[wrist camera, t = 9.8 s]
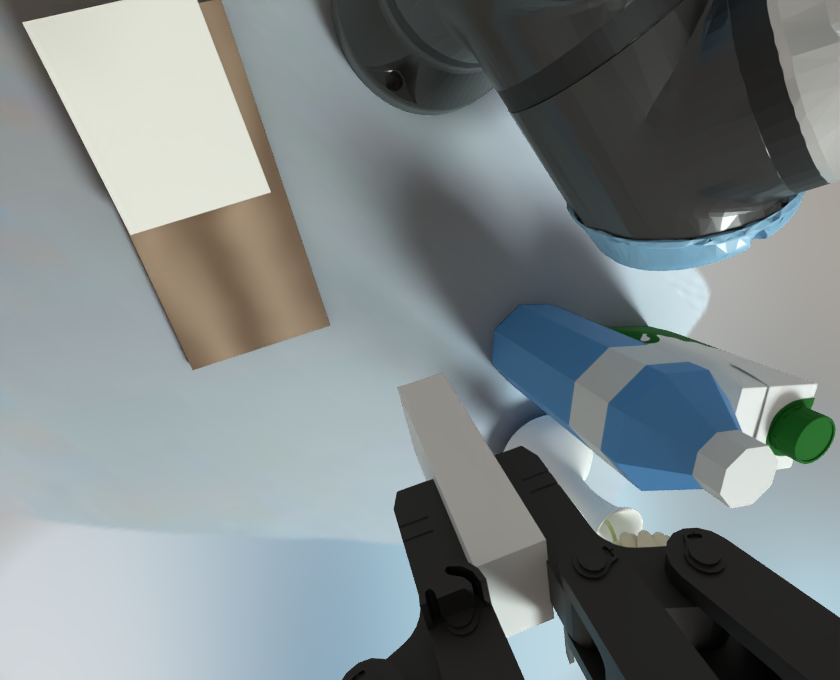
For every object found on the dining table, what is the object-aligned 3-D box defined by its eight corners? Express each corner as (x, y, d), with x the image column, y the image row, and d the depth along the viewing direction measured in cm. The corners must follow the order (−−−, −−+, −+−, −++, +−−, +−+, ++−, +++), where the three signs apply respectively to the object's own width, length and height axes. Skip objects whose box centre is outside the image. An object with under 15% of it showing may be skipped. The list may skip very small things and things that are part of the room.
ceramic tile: (270, 192, 35) (191, -16, 30) (130, 235, 33) (22, 22, 28) (271, 191, 38) (198, 3, 33) (142, 231, 36) (46, 38, 31)
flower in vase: (593, 409, 55) (822, 567, 32) (568, 495, 58) (761, 697, 35) (492, 404, 51) (672, 581, 28) (470, 497, 53) (617, 728, 31)
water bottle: (474, 371, 49) (653, 532, 26) (514, 287, 47) (740, 380, 24) (545, 396, 52) (757, 557, 29) (584, 319, 51) (839, 426, 28)
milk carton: (641, 390, 56) (820, 487, 38) (575, 394, 53) (732, 501, 35) (656, 317, 54) (856, 385, 35) (588, 318, 51) (764, 391, 33)
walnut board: (221, 3, 34) (220, -2, 33) (329, 323, 43) (330, 325, 42) (40, 36, 32) (35, 33, 31) (194, 366, 41) (192, 370, 40)
